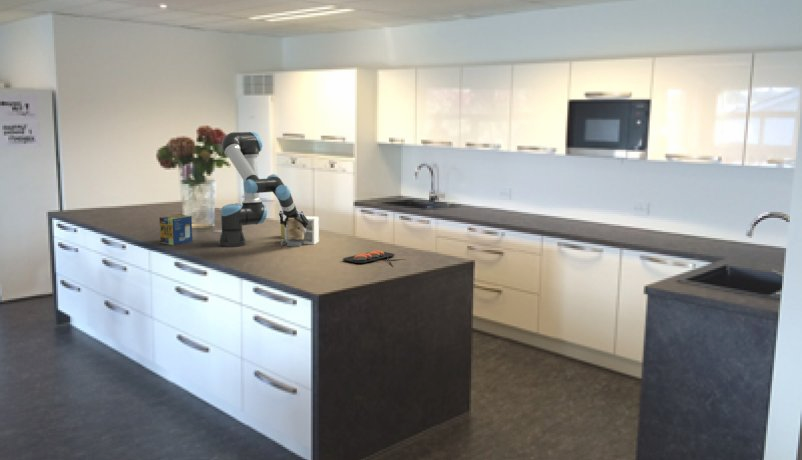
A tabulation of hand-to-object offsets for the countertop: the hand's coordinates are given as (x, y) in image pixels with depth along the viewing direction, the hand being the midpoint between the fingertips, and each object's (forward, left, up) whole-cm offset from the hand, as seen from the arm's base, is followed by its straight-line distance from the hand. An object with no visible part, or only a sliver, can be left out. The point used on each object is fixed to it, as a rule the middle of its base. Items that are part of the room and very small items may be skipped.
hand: (297, 230), depth 394 cm
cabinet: (+2, +2, -8) cm, 9 cm away
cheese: (+1, +23, -9) cm, 25 cm away
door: (-2, -3, -4) cm, 5 cm away
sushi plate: (+31, -58, -9) cm, 66 cm away
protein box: (-66, +26, -9) cm, 72 cm away
